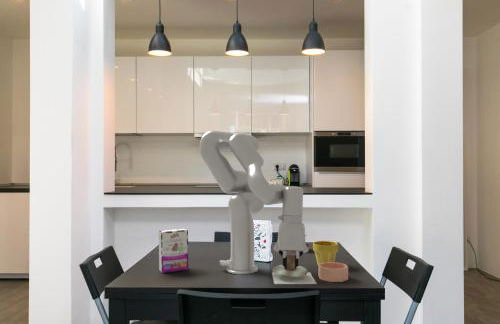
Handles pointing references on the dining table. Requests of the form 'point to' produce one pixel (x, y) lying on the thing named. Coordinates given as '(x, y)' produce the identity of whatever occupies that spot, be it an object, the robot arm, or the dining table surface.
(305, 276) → the square white plate
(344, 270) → the bowl
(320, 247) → the plant pot
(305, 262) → the dining table surface
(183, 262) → the candy bar box
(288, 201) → the robot arm
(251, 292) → the dining table surface
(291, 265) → the lid
